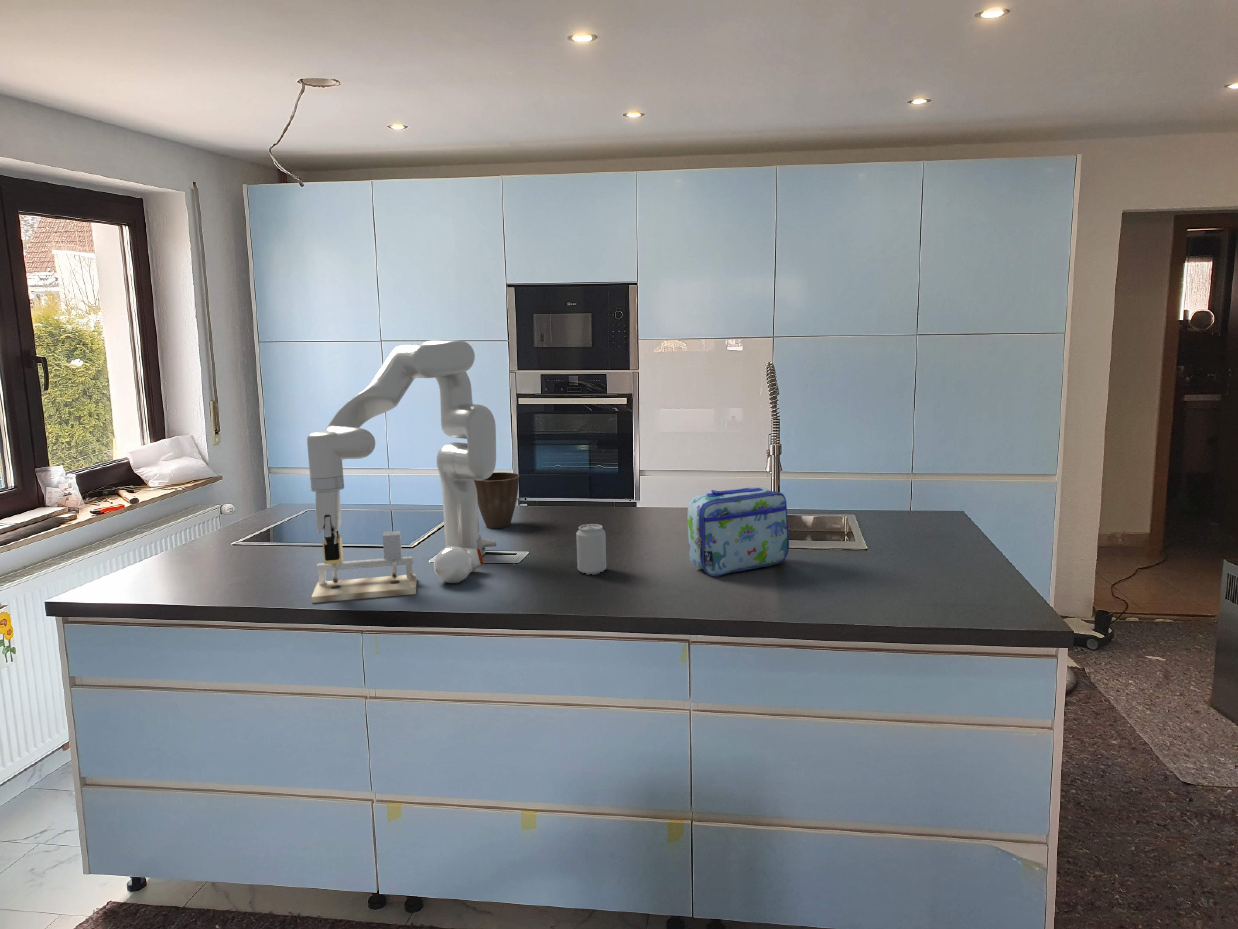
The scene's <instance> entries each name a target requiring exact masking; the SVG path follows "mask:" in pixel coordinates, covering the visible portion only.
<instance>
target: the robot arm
mask: <svg viewBox="0 0 1238 929" xmlns="http://www.w3.org/2000/svg"><path fill="white" fill-rule="evenodd" d="M475 355H476V354H475V351H474V348H473V347H472V345H470V344H469V343H468V342H466V341H465V340H461V339H460V340H459V339H431V340H427V341H424V342H422V343H421V344H419V343H417V344H413V343H411V344H399V345H397V346H395V347H394V348H393V349H392V350H391V352H390V353H389V354H388V356H387V357H386V359H385V361H384V362H383V363H382V365H381V366H380V367H379V369H378V371H377V372H376V373H375V375H374V376H373V378H372V380H371V381H370V382H369V384H368V385H367V386H366V387H365V389H363V390H362V391H360V392H359V393H357V394H356V395H355V396H354V397H352V398H351V399H350V400H349V401H347V402H346V403H345V404H344V405H342V407H340V408H339V409H338V410H337V411H336V413H335V415H334V416H333V417H332V418H331V420H330V421H329V423H328V425H327V426H326V428H325V430H322V431H315V432H311V433H310V434H308V436H307V439H306V440H307V441H306V443H307V456H308V458H307V459H308V467H309V468H308V470H309V477H310V479H309V480H310V490H311V492H313V493H315V499H314V501H315V519H316V520H315V522H316V532H317V533H318V534H320V533H321V532H323V538H324V550H325V560H326V561H330V560H339V546H338V543H337V536H336V535H340V527H341V524H342V506H341V505H342V503H341V492H340V491H341V490H344V489H345V481H344V480H345V479H344V466H343V461H344V460H358V459H364V458H367V457H369V456H370V455H371V454H372V453H373V452H374V450H375V448H376V439H375V436H374V435H373V434H372V433H371V432H370V431H369V430H367V429H364V428H361V427H362V425H364V424H365V423H367V422H368V421H369V420H371V419H373V418H374V417H376V416H380V415H382V414H384V413H387V412H389V411H392V410H393V409H394V408H396V407H397V406H398V405H399V403H400V402H401V400H402V399H403V397H404V395H405V394H406V393H407V391H408V390H409V388H410V387H411V385H412V383H413V382H414V380H416V378H417V379H436V382H437V384H438V388H439V396H440V398H439V400H440V425H441V430H442V431H443V434H445V435H446V436H447V437H451V438H456V439H463V440H466V442H449V443H446V444H444V445H443V446H441V448H440V449H439V450H438V452H437V455H436V467H437V471H438V475H439V479H440V484H441V485H440V486H441V493H442V509H443V510H442V511H443V527H444V528H443V529H444V531H443V532H444V544H445V545H444V548H445V547H447V546H456V547H460V548H472V549H480V552H481V555H483V556H484V555H485V554H486V553H487V552H486V551H487V550H486V548H487V547H489V548H490V547H491V548H492V547H497V539H492V538H486V539H483V538H481V534H480V524H479V522H480V521H479V507H478V500H477V499H478V498H477V489H476V485H475V482H474V480H485V479H487V478H489V477H490V476H491V475H492V473H495V472H494V471H495V468H496V465H497V464H496V463H497V430H496V429H497V428H496V420H495V416H494V415H493V412H492V411H491V410H490V409H489V408H488V407H486V406H484V405H482V404H478V403H477V404H475V403H473V393H472V392H473V391H472V384H471V380H470V377H469V375H468V373H467V372H468V371H469V370H471V368H472V367H473V365H474V362H475V359H476V358H475V357H476V356H475ZM444 548H442V549H441V550H443V549H444Z"/></svg>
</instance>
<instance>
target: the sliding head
mask: <svg viewBox="0 0 1238 929" xmlns="http://www.w3.org/2000/svg"><path fill="white" fill-rule="evenodd" d="M336 536H337V543H338V546H339V560H330V561H326V560H325V550H324V537H322V541H321V542H322V552H323V554H322V555H323V563H324V565H326V564H332V571H331V576H332V581H333V582H334V583H335V584H336V583H337V582H338V580H339V574H338V570H337V564H339V563H342V562H344V551H343V538H342V535H341V534H339V535H336Z"/></svg>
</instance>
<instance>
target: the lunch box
mask: <svg viewBox="0 0 1238 929" xmlns="http://www.w3.org/2000/svg"><path fill="white" fill-rule="evenodd" d="M687 535H688V536H687V537H688V554H689V560H690V563H691V564H692V565H693V566H694V567H697V568H700V569H702V570H703V572H704V573H706V574H708V575H709V576H711V577H720V576H723V575H726V574H730V573H737V572H743V571H748V570H754V569H759V568H763V567H770V566H773V565H774V566H775V565H779V564H781V563H784V561H785V560H786V558H787V556H788V554H789V550H790V532H789V518H788V507H787V498H786V496H785V494H784V493H782V492H780V491H775V490H774V491H773V490H771V489H768V488H765V487H757V486H755V487H742V488H741V487H740V488H735V489H734V488H733V489H726V490H716V489H715V490H714V489H711V492H708V493H704V494H703V493H702V494H699V495H696V496H695V497H694V498H692V499H691V500H690V501H689V504H688V507H687Z"/></svg>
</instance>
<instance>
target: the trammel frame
mask: <svg viewBox="0 0 1238 929" xmlns="http://www.w3.org/2000/svg"><path fill="white" fill-rule="evenodd" d="M382 541H383V542H382V544H383V545H382V546H383V557H384V558H383V557H382V558H373V559H359V560H345V561H344V560H343V561H342V563H339V564H337V571H341V570H342V571H343V570H354V569H357V570H358V569H365V568H366V569H368V568H379V567H380V568H381V567H391V576H392V577H393V578H394V579H395V578H397V575H398V571H397V570H398V568H397V566H404V565H405V570H406V571H405V572H406V574H405V575H407V578H413V574H414V570H413V568H414V567H413V565H414V557H413V556H412V555H410V556H402V555H403V551H402V537H401V530H395V531H394V530H393V531H384V532H383V533H382ZM328 571H329V572H330V571H331V572H332V564H326V565H324V562H320V563H317V564H316V572H317V576H318V582H319V585H326V583H327V582H326V581H327V572H328Z"/></svg>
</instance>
